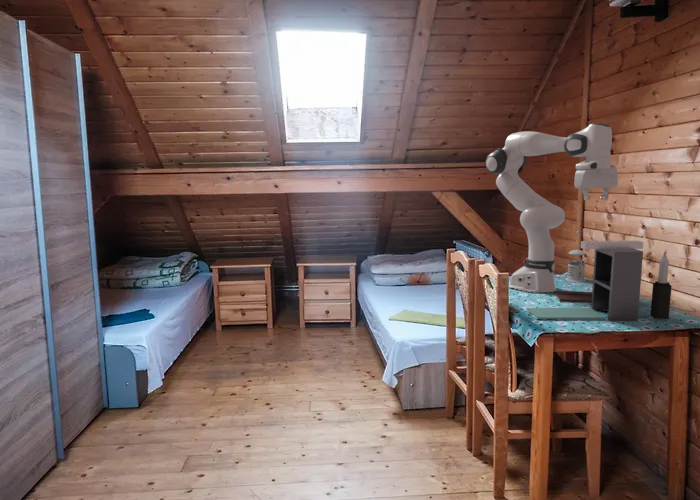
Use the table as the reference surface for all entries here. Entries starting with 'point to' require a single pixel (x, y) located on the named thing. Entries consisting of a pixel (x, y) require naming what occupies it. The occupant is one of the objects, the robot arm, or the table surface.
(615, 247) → the aluminium strip
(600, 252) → the rack
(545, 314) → the mat
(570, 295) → the notebook
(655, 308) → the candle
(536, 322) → the table surface
